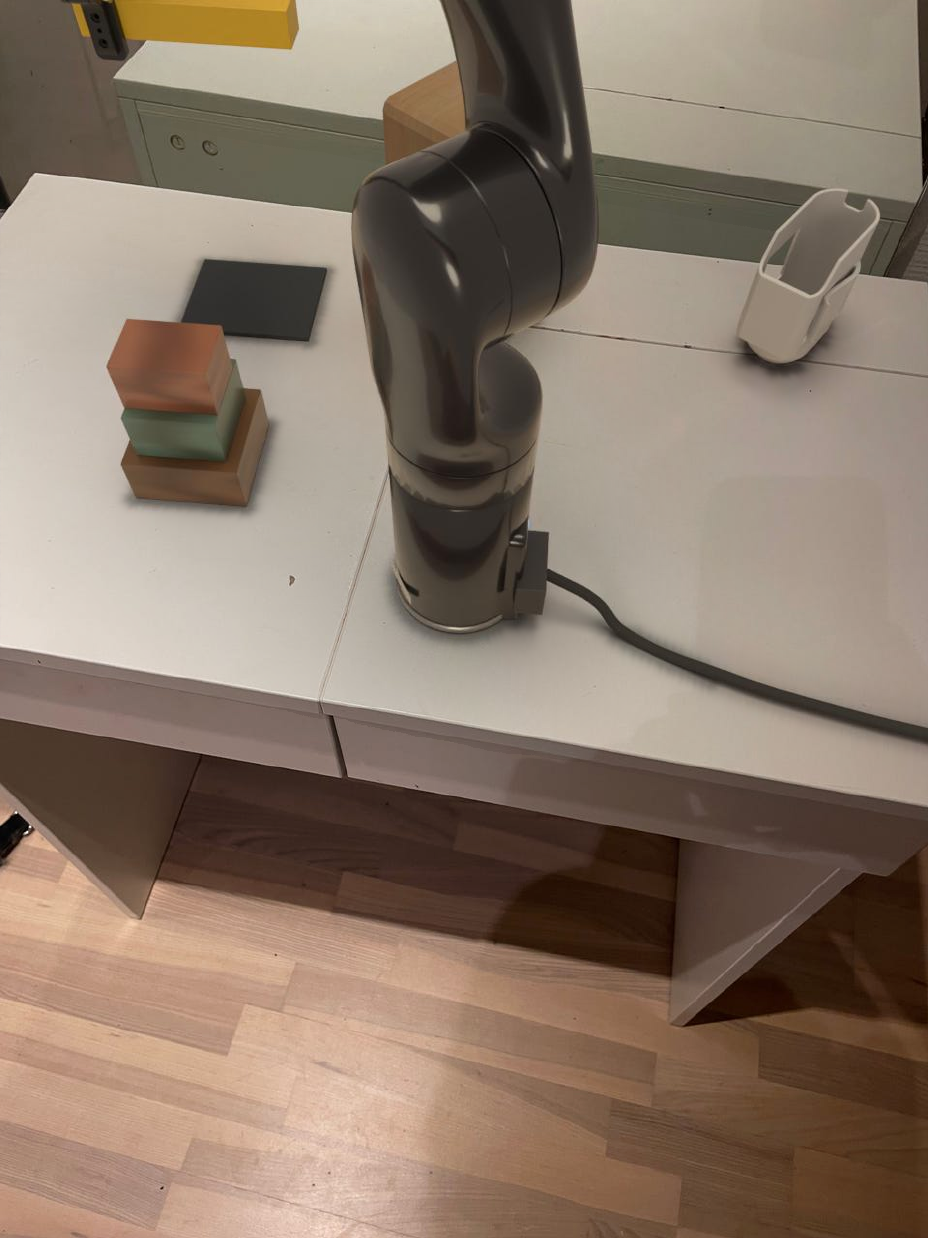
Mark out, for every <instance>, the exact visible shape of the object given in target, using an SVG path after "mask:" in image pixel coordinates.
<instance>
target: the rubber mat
mask: <svg viewBox="0 0 928 1238" xmlns="http://www.w3.org/2000/svg"><path fill="white" fill-rule="evenodd" d="M327 270H328V269H327V267H323V266H306V265H294V264H280V263H267V262H265V263H264V262H253V261H252V262H251V261H237V260H224V259H211V258H210V259H208V258H204V260H203V262H202V265H201V267H200V270H199V273H198V275H197V278H196V281H195V283H194V286H193V288H192V291H191V294H190V297H189V298H188V301H187V304H186V307H185V309H184V312H183V315H182V318H181V320H180V323H192V324H206V325H220V326H222V330H223V333H224V336H236V337H249V338H263V339H276V340H289V341H292V340H293V341H302V342H303V341H304V342H305V341H306V342H309V341H310V337H311V333H312V330H313V325H314V321H315V317H316V314H317V310H318V306H319V303H320V298H321V295H322V291H323V287H324V283H325V280H326V276H327V272H328V271H327Z"/></svg>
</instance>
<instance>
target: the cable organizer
mask: <svg viewBox="0 0 928 1238" xmlns="http://www.w3.org/2000/svg"><path fill="white" fill-rule="evenodd" d="M849 192H850V190H849V189H846V188H826V189H822V190H819V191H817V192H815V193H813V194H812V195H811V197H809V198H808V199H807V201H805V202H804V203H803V204H802V205H801V206H800V207H799V208H798V209H797V210H796V211H795V212H794V213H793V214H792V215H791V216H790V217H789V218H788V219H787V220H786V221H785V222H784V223H783V224H782V225H781V226H780V227H778V228H777V230H775V232H774V234H773V235H772V238H771V240H770V241H769V244H768V245H767V247H766V248H765V251H764V253H763V255H762V257H761V259H760V261H759V264H758V266H757V270H756V272H755V275H754V278H753V281H752V284H751V285H750V289H749V292H748V295H747V298H746V301H745V303H744V306H743V309H742V311H741V314H740V317H739V320H738V323H737V326H736V331H735V332H736V335H737V337H738V338H739V339H742V340H743V341H745V342H747V344H748V345H749V347H750V348H751V349H752V351H753V352H754V353H755V354H756V355H757V356H758V357H759V358H760V359H762V360H764V361H766V362H768V363H772V364H786V363H791V362H794V361H797V360H799V359H802V358H803V357H805V355H807V354H808V353H809V352H810V350H812V348H813V347H814V346H815V345H816V344H817V343H818V342H819V340H820V339H821V338H822V337H823V336H824V335H825V333H826V332H827V331H828V330H829V329H830V327H831V325H832V322H833V320H834V319H836V318H837V317H839V315H840V314H841V312H842V311H843V309H844V306H845V304H846V302H847V300H848V298H849V296H850V293H851V291H852V289H853V287H854V285H855V283H856V281H857V279H858V277H859V274H860V272H861V269H862V263H861V260H862V258H863V256H864V254H865V251H866V249H867V248H868V246H869V243H870V241H871V239H872V236H874V235H873V234H874V233H875V231H876V228H877V226H878V224H879V221H880V219H881V211H880V209H879V207H878V206H877V204H875V202H874V201H873V200H872V199H870V198H868V199H867V200H866V202H865V204H864V206H863V208H862V209H861V210H859V209H858V208H855V207H853V206H851V205H848V204H847V203H846V198H847V196H848V194H849ZM792 237H793V238H792ZM791 238H792V241H791V243H790V246H789V248H788V251H787V254H786V257H785V259H784V261H783V265H782V267H781V270H780V273H779V274H778V275H777V276H776V277H773V276H771V275H769V274H767V273H765V271H766V269H767V265H768V263H769V260H770V258H772V256H773V255H775V254H776V252H778V251H779V250H780V248H782V246H784V245H785V244H786V243H787V242H788V240H790V239H791Z"/></svg>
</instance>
